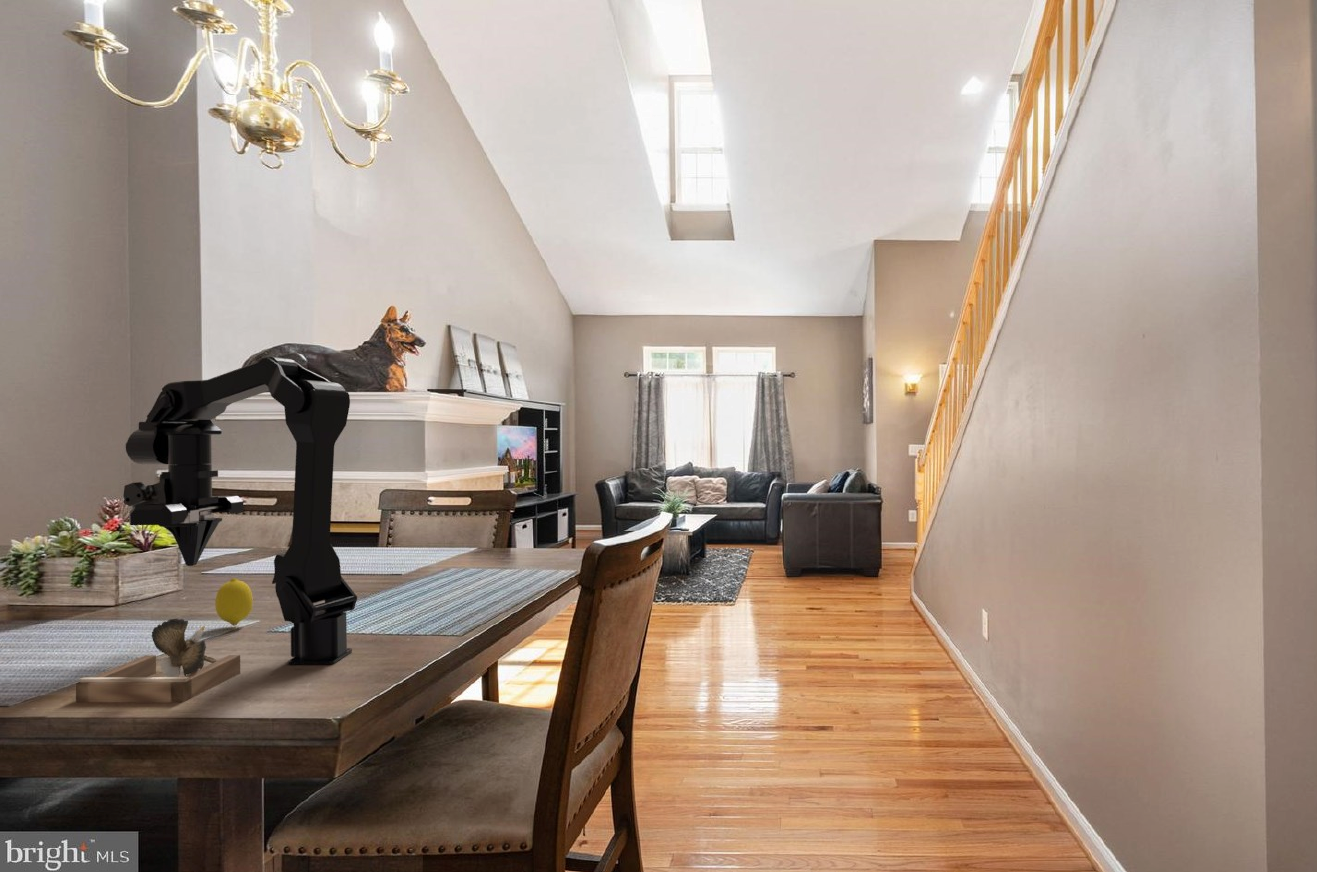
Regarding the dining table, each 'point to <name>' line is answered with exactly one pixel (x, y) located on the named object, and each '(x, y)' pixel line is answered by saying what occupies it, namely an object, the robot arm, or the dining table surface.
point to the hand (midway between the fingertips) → (191, 565)
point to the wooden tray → (153, 682)
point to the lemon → (234, 601)
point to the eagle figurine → (180, 648)
